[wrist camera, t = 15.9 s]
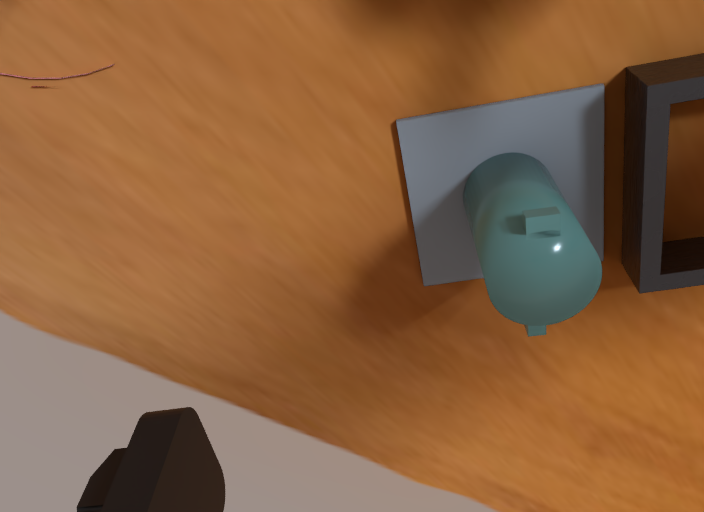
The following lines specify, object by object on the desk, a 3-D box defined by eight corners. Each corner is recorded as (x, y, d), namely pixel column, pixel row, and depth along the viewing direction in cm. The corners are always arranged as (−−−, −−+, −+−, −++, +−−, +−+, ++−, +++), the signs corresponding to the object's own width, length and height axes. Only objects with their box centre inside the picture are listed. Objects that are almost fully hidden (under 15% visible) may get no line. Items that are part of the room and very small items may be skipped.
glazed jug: (458, 147, 39) (482, 223, 31) (552, 133, 39) (604, 208, 30) (468, 267, 44) (492, 363, 35) (553, 256, 43) (599, 352, 34)
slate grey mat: (602, 83, 37) (604, 85, 37) (601, 257, 44) (603, 260, 43) (396, 119, 39) (396, 122, 39) (423, 283, 45) (424, 286, 45)
